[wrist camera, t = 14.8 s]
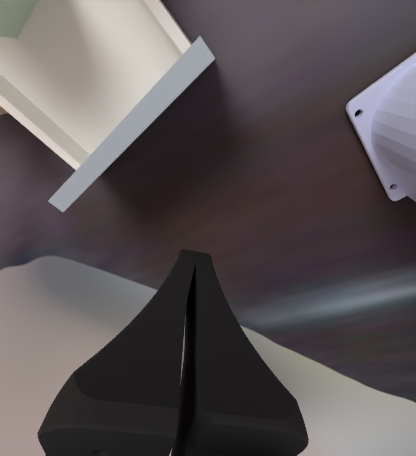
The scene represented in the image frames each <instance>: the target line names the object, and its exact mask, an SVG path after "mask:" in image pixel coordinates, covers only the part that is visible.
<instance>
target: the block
mask: <svg viewBox="0 0 416 456" xmlns="http://www.w3.org/2000/svg"><path fill="white" fill-rule="evenodd" d="M38 2H39V0H0V37H7V38H16V39H17V37H18V35H19V34H20V32H21V30H22V29H23V27H24V25H25V24H26V22H27V20H28V19H29V17H30V15H31V14H32V12H33V10H34V8H35V7H36V5H37V3H38Z"/></svg>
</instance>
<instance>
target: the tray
mask: <svg viewBox="0 0 416 456" xmlns="http://www.w3.org/2000/svg"><path fill="white" fill-rule="evenodd" d="M214 60H215V57H214V56H213V54H212V53H211V51H210V50H209V48H208V47H207V45H206V44H205V42H204V41H203V40H202V38H201V37H200V36H199V37H198V38H197V40H196V41H195V42H194V43H193V44H192V43H191V42H190V41H189V39H188V38H187V36H186V35H185V33H184V32H183V31H182V29H181V28H180V26H179V25H178V24H177V22H176V21H175V19H174V18H173V17H172V15H171V14H170V12H169V11H168V9H167V8H166V7H165V5H164V4H163V2H162V1H161V0H39V2H38V3H37V5H36V7H35V8H34V10H33V12H32V14H31V15H30V17H29V19H28V20H27V22H26V24H25V25H24V27H23V29H22V30H21V32H20V34H19V35H18V37H17V39H16V38H7V37H0V106H1V107H2V108H3V109H5V110H6V111H7V112H8V113H9V114H11V115H12V116H13V117H14V118H15V119H16V120H18V121H19V122H20V123H21V124H22V125H23V126H25V127H26V128H27V129H28V130H29V131H30V132H32V133H33V134H34V135H35V136H36V137H38V138H39V139H40V140H41V141H42V142H43V143H45V144H46V145H47V146H48V147H49V148H50V149H52V150H53V151H54V152H55V153H56V154H58V155H59V156H60V157H61V158H62V159H63V160H65V161H66V162H67V163H68V164H69V165H70V166H72V167H73V168H74V169H75V170H76V171H75V172H74V173H73V175H72V176H71V177H70V178H69V179H68V180H67V181H66V182H65V183H64V184H63V185H62V186H61V188H60V189H59V190H58V191H57V192H56V193H55V194H54V195H53V196H52V197H51V198H50V200H49V201H48V202H50V203H51V204H52V205H54V206H55V207H56V208H58V209H59V210H60V211H62V212H64V211H65V210H66V209H67V208H68V207H69V206H70V205H71V204H72V203H73V202H74V201H75V200H76V199H77V198H78V197H79V196H80V195H81V194H82V193H83V192H84V191H85V190H86V189H87V188H88V187H89V186H90V185H91V184H92V183H93V182H94V181H95V180H96V179H97V178H98V177H99V176H100V175H101V174H102V173H103V172H104V171H105V170H106V169H107V168H108V167H109V166H110V165H111V164H112V163H113V162H114V161H115V160H116V159H117V158H118V157H119V156H120V155H121V154H122V153H123V152H124V151H125V150H126V149H127V148H128V147H129V146H130V145H131V144H132V143H133V142H134V141H135V140H136V139H137V138H138V137H139V136H140V135H141V134H142V133H143V132H144V131H145V130H146V129H147V128H148V127H149V126H150V125H151V124H152V123H153V122H154V121H155V120H156V119H157V118H158V117H159V116H160V115H161V114H162V113H163V112H164V111H165V110H166V109H167V107H168V106H169V105H170V104H171V103H172V102H173V101H174V100H175V99H176V98H177V97H178V96H179V95H180V94H181V93H182V92H183V91H184V90H185V89H186V88H187V87H188V86H189V85H190V84H191V83H192V82H193V81H194V80H195V79H196V78H197V77H198V76H199V75H200V74H201V73H202V72H203V71H204V70H205V69H206V68H207V67H208V66H209V65H210V64H211V63H212V62H213V61H214Z"/></svg>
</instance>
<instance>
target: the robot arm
mask: <svg viewBox="0 0 416 456" xmlns="http://www.w3.org/2000/svg"><path fill="white" fill-rule="evenodd" d="M359 109H360V114H359V115H358V116H356V117H355V112H356V111H357V110H359ZM346 112H347V114H348V116H349V118H350V120H351V122H352V124H353V126H354V128H355V130H356V132H357V134H358V136H359V138H360V140H361V142H362V144H363V146H364V148H365V151H366V153H367V155H368V157H369V159H370V161H371V163H372V165H373V167H374V169H375V171H376V173H377V175H378V177H379V179H380V181H381V183H382V185H383V187H384V189H385V191H386V193H387V195H388V197H389V198H390V199H391V200H392V201H397V200H400V199H402V198H403V197H405V196H408V197H410V198H411V199H413V200H414V201H415V202H416V53H414V54H413V55H412V56H410V57H409V58H408V59H406V60H405V61H403V62H402V63H401V64H399V65H398V66H397V67H395V68H394V69H393V70H391V71H390V72H388V73H387V74H386V75H384V76H383V77H382V78H380V79H379V80H378V81H376V82H375V83H373V84H372V85H371V86H369V87H368V88H367V89H365V90H364V91H363V92H361V93H360V94H358V95H357V96H356V97H354V98H353V99H352V100H350V101H349V102H348V104H347V106H346ZM393 184H394V185H393ZM391 185H393V187H391V188H390V186H391ZM185 315H186V320H185ZM185 321H186V322H185ZM184 326H185V349H184V361H183V369H182V377H181V364H182V351H183V337H184ZM180 382H181V385H180ZM38 439H39V442H40V444H41V446H42V447H43V449H44V451H45V453H46V456H169V454H170V451H171V449H172V453H171V456H297V455H298V454H299V453H301V452H302V451H303V450H304V449H305V448H306V447H307V445H308V435H307V431H306V427H305V424H304V420H303V417H302V414H301V412H300V409H299V406H298V403H297V401H296V399H295V398H294V397H293V396H292V395H291V394H290V392H289V391H288V390H287V389H286V388H285V387H284V386H283V384H282V383H281V382H280V381H279V380H278V379H277V377H276V376H275V375H274V374H273V372H272V371H271V370H270V369H269V367H268V366H267V365H266V364H265V362H264V361H263V360H262V358H261V357H260V355H259V354H258V353H257V351H256V350H255V348H254V347H253V345H252V344H251V343H250V341H249V340H248V338H247V337H246V335H245V334H244V332H243V330H242V329H241V327H240V325H239V323H238V322H237V320H236V318H235V316H234V315H233V313H232V311H231V309H230V307H229V305H228V303H227V301H226V298H225V296H224V294H223V292H222V289H221V287H220V284H219V282H218V279H217V276H216V273H215V270H214V267H213V264H212V260H211V256H210V255H209V254H207V253H202V252H196V251H190V250H184V249H183V250H181V251H180V254H179V256H178V259H177V261H176V263H175V265H174V267H173V269H172V270H171V272H170V273H169V275H168V277H167V278H166V280H165V281H164V283H163V284H162V286H161V287H160V288H159V290H158V291H157V292H156V294H155V295H154V296H153V298H152V299H151V300H150V301H149V303H148V304H147V305H146V306H145V307H144V308H143V310H142V311H141V312H140V313H139V314H138V315H137V316H136V317H135V318H134V319H133V320H132V321H131V323H130V324H129V325H128V326H127V327H126V328H124V330H122V331H121V332H120V333H119V334H118V335H117V336H116V337H115V338H114V339H113V340H112V341H110V342H109V343H108V344H107V345H106V346H105V347H104V348H103V349H101V350H100V351H99V352H98V353H97V354H96V355H94V356H93V357H92V358H90V359H89V360H88V361H87V362H86V363H84V364H83V365H82V366H81V367H79V368H78V369H77V370H76V371H74V372H73V374H72V375H71V376H70V378H69V379H68V380H67V382H66V383H65V384H64V386H63V387H62V389H61V390H60V392H59V393H58V395H57V396H56V398H55V400H54V401H53V403H52V405H51V407H50V408H49V410H48V412H47V415H46V417H45V419H44V421H43V423H42V425H41V427H40V429H39V432H38Z"/></svg>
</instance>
